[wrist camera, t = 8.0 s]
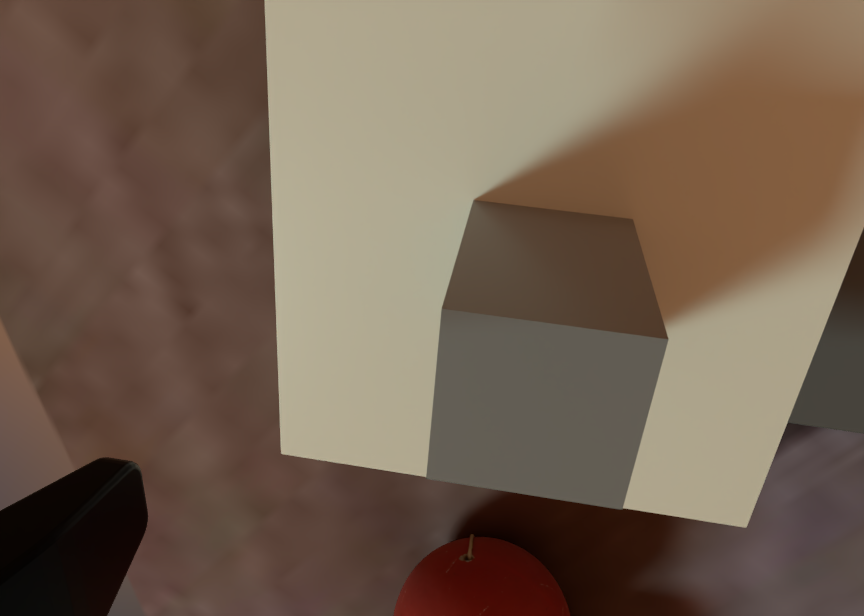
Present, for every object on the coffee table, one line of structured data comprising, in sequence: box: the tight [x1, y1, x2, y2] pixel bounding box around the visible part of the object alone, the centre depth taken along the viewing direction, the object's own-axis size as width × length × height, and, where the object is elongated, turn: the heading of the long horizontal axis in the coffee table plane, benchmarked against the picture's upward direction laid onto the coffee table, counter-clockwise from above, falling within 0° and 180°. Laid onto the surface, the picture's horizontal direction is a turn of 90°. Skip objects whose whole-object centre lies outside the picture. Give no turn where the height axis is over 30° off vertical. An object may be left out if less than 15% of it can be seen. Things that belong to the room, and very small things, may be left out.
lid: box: [265, 0, 864, 528], centre depth 12 cm, size 11×11×5 cm
